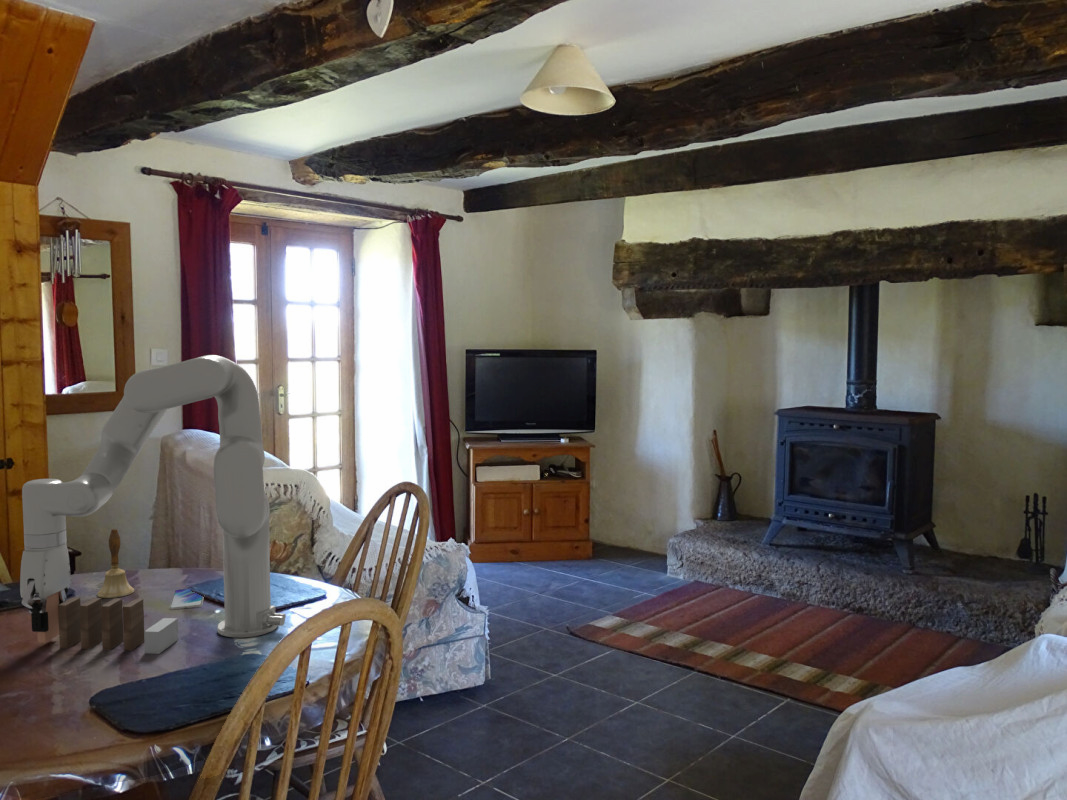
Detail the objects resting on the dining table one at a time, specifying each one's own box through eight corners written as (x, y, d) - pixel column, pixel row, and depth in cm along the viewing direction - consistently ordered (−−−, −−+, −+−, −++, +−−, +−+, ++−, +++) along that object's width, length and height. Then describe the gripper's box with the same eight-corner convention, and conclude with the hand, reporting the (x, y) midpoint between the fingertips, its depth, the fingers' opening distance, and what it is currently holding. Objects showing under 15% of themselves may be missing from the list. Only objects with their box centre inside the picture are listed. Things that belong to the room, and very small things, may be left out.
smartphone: (168, 608, 197) (174, 589, 212) (168, 612, 197) (174, 593, 212) (202, 604, 199) (205, 586, 214) (202, 608, 200) (206, 589, 214)
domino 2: (81, 639, 178) (80, 597, 177) (67, 648, 173) (65, 605, 172) (74, 639, 178) (72, 597, 178) (59, 648, 173) (58, 605, 173)
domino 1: (60, 634, 178) (58, 591, 178) (45, 642, 173) (43, 599, 173) (53, 633, 178) (51, 591, 178) (37, 642, 173) (35, 599, 173)
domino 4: (123, 640, 178) (122, 598, 177) (110, 649, 173) (108, 606, 172) (116, 640, 178) (114, 598, 177) (102, 649, 173) (101, 606, 172)
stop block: (178, 639, 178) (177, 618, 178) (159, 653, 171) (158, 631, 170) (164, 639, 179) (163, 618, 178) (144, 653, 171) (144, 631, 170)
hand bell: (100, 589, 213) (98, 526, 211) (136, 587, 215) (134, 524, 214) (94, 599, 205) (91, 534, 203) (131, 596, 207) (129, 532, 206)
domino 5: (144, 641, 177) (143, 599, 177) (131, 650, 172) (130, 606, 172) (137, 641, 177) (135, 598, 177) (124, 650, 172) (122, 606, 172)
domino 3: (102, 640, 178) (101, 598, 177) (88, 649, 173) (87, 605, 172) (95, 640, 178) (93, 597, 177) (81, 648, 173) (79, 605, 172)
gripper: (53, 529, 183) (56, 612, 184) (-1, 549, 166) (3, 640, 167) (87, 530, 183) (90, 613, 184) (36, 550, 166) (40, 641, 167)
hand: (49, 625), depth 176 cm, fingers closed on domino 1, 4 cm apart
